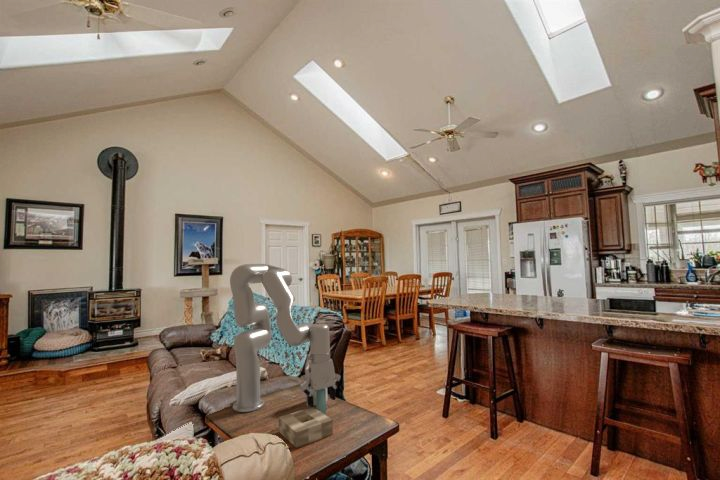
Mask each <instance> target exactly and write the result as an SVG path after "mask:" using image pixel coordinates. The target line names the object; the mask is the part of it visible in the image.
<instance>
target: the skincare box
mask: <svg viewBox="0 0 720 480" xmlns="http://www.w3.org/2000/svg"><path fill="white" fill-rule="evenodd" d="M308 368H309V364H308V365H307V366H306V368H305V370H304V373H305V374H304V375H305V377H304V378H305V381H306V380H307V379H308ZM308 388H309V387H308V385H307V386H306V389H307V390H308ZM305 395H306V394H305ZM312 396H313V401H314V406H313V407H315V406H316V391H314V392H313V394H312ZM328 397H329V396H328V388H326V403H327V401H328V400H329V399H328ZM305 399H306V400H305V401H306V406H307V407H308V406H309V405H308V403H307V395H306V396H305ZM309 407H310V406H309Z"/></svg>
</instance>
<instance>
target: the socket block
mask: <svg viewBox="0 0 720 480" xmlns="http://www.w3.org/2000/svg"><path fill="white" fill-rule="evenodd" d="M333 425H334V422H333V418H331V417H329V416H328V415H327V414H326V415H325V414H323V413H322V412H320V411H319V410H317V409H316V407H315V406H313V407H311V406H309V407H307V408H304V409H301V410H297V411H295V412H292V413H287V414H285V415H282V416H278V433H280V434H281V435H282V436H283V437H284V438H285V439H286V440H287V441H288V442H289V443H290V444H291V445H292V446H294V447H295V448H296V449H297V448H300V447H304V446H306V445H309V444H311V443H314V442H316V441H319V440H321V439H324V438H326V437H329V436H332V435H333V434H334V428H333V427H334V426H333Z"/></svg>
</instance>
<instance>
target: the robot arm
mask: <svg viewBox="0 0 720 480" xmlns="http://www.w3.org/2000/svg"><path fill="white" fill-rule="evenodd" d="M292 277H293V276H292V275H291V273H290V271H288V270H287V269H285V268H281V267H277V266H274V265H271V264H268V263H267V264H266V263H248V264H241V265H239V266H237V267H236V268H234V270H233V271H232V272H231V275H230V278H229V284H230V291H231V293H232V294H231V295H232V302H233V303H232V304H233V310H234V311H233V314H234V320H235V324H236V325H237V326H238V327H239V328H249V327H251V328H250V329H247V330H244V331H241V332H240V333H238V334H237V335H236V336H235V337H234V340H233V348H234V349H233V350H234V353H235V363H236V364H235V365H236V401H235V402H234V403H233V404H232V410H233V411H235V412H237V413H238V412H239V413H249V412H253V411H257V410H259V409H261V408H262V407H264V404H265V400H264V399H262V398H261V363H260V358H259V356H258V353H257V351H259V350H262V349H265V348H266V347H268V346H269V345H270V343H271V342H272V328H271V318H270V312H269V310H268V307H267V306H266V305H265V304H264V303H261V302H255V297H254V293H253V290H252V288H251V287H250V285H252V284H260V283H261V284H262V285H263V287H264V289H265V291H266V293H267V294H268V296H269V298H270V300H271V302H272V303H273V305H274V307H275V309H276V313H275V318H276V325H277V328H278V329H277V330H278V331H279V332H280V334H281V336H282V337H283V339H284V341H285V342H286V344H288V345H289V346H291V347H295V348H296V347H299V346H301V345H304V344H306V343H310V345H309V346H310V355H309V356H307V360H308V361H309V362H308V365H309V368H308V379H307V380H306V379H305V381H304V382H303V383H301V384H300V388H301V390H302V393H305V395H307V401H306V404H307V403H308V405H309V407H315V406H314V401H313V396H312V394H313V392H314V391H317V390H321V389H324V388H327V389H328V388H329V399H331V400H333V401H336V397H337V396H336V395H337V394H336V389H338V386H339V384H340V380H341V377H342V376H341V375H340V374H338V373H336V372H335V366H334V362H333V359H332V358H331V349H330V348H331V343H330V342H331V341H330V327H329V325H327V324H325V323H321V324H320V323H318V324H316V323H312V322H304V323H303V322H302V323H299V324H296V322H295V321H294V319H293V317H292V313H291V309H292V306H293V304H294V303H295V300H296V297H295V296H294V294H293V292H292V291H291V288H290V286H291V285H292V282H293V281H292V280H293V278H292ZM307 385H308V387H309V388H308V390H307V389H306V386H307Z"/></svg>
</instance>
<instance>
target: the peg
mask: <svg viewBox="0 0 720 480" xmlns="http://www.w3.org/2000/svg"><path fill="white" fill-rule="evenodd" d="M315 408H316V409H317V410H319V411H320V412H322V413H323V414H325V415H326V416H327V402H326V388H324V389H321V390H317V391H316V407H315Z"/></svg>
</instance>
